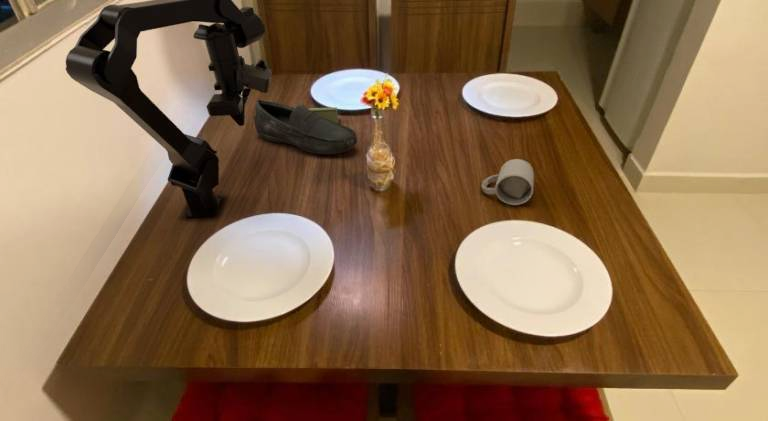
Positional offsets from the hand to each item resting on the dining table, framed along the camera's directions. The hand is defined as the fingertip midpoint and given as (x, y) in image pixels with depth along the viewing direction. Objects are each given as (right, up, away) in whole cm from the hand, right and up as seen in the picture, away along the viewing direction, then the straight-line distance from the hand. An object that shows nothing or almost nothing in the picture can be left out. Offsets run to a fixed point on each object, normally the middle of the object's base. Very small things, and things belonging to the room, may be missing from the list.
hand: (241, 124), depth 99 cm
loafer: (+11, -2, +16) cm, 20 cm away
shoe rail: (+10, +5, +24) cm, 27 cm away
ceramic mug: (+59, -16, -1) cm, 61 cm away
